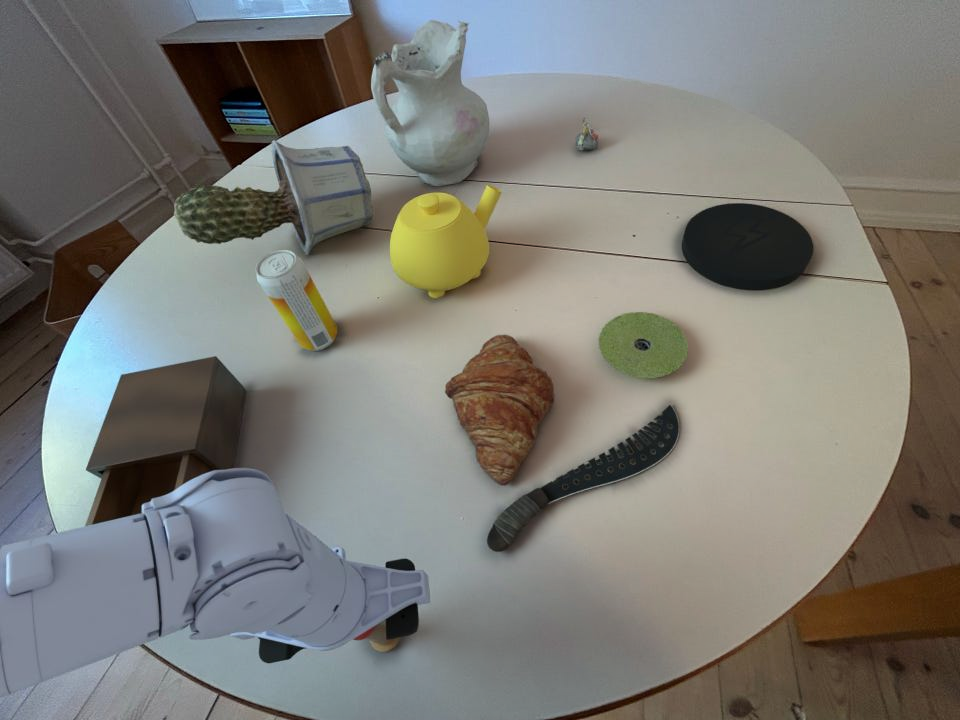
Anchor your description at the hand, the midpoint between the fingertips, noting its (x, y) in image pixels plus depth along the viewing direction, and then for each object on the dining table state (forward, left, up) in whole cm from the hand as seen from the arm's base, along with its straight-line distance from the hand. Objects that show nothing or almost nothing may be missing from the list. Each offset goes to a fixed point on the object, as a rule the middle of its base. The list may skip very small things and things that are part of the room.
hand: (365, 623), depth 43 cm
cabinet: (+2, +38, -7) cm, 38 cm away
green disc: (+45, -7, -7) cm, 46 cm away
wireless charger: (+71, -12, -7) cm, 72 cm away
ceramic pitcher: (+68, +45, -7) cm, 82 cm away
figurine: (+87, +23, -7) cm, 90 cm away
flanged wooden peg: (0, 0, -7) cm, 7 cm away
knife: (+25, -10, -7) cm, 28 cm away
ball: (0, 0, 0) cm, 0 cm away
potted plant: (+38, +55, -7) cm, 68 cm away
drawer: (-6, +29, -6) cm, 30 cm away
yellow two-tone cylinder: (+24, +35, -7) cm, 43 cm away
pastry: (+28, +4, -7) cm, 29 cm away
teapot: (+47, +26, -7) cm, 54 cm away
